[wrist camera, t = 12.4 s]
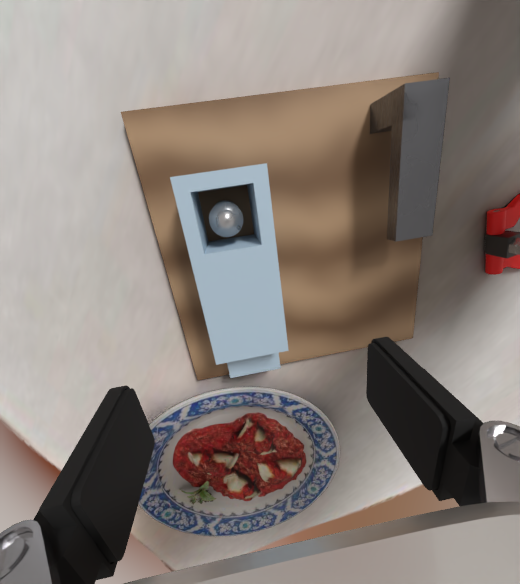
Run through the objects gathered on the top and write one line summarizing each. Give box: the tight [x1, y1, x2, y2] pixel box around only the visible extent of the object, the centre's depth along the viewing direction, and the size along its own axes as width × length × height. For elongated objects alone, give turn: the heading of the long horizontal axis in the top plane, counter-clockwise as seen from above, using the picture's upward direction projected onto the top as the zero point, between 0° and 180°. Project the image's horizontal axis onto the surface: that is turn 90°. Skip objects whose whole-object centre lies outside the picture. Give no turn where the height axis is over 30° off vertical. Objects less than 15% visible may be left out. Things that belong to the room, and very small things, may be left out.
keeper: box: [370, 78, 450, 242], centre depth 20 cm, size 10×3×4 cm, turn 8°
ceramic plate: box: [138, 387, 340, 536], centre depth 32 cm, size 26×26×3 cm
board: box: [121, 72, 439, 380], centre depth 24 cm, size 24×24×1 cm
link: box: [170, 163, 289, 378], centre depth 22 cm, size 18×6×5 cm, turn 8°
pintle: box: [209, 200, 243, 237], centre depth 20 cm, size 2×2×5 cm
